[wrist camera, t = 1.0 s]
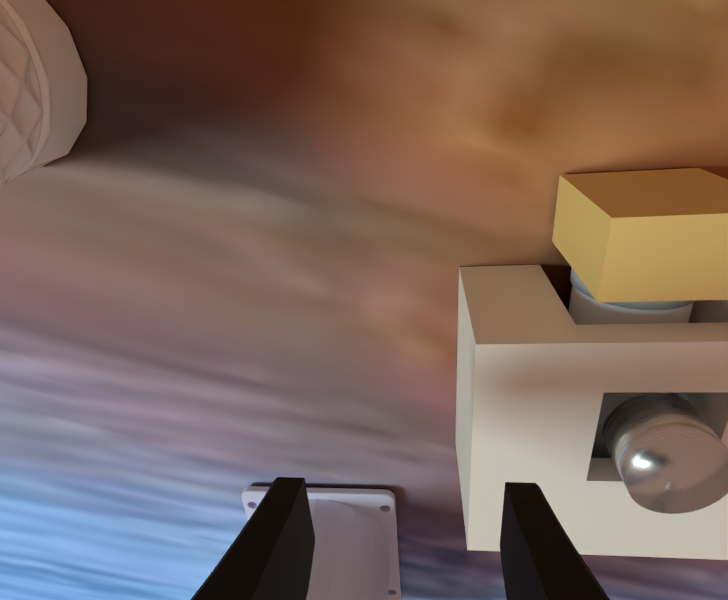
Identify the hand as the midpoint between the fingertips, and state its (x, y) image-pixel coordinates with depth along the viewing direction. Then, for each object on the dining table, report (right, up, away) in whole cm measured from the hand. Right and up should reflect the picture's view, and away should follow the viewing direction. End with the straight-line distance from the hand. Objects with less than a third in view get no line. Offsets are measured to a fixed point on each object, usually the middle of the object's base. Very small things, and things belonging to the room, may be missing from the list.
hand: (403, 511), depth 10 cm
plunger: (+8, +1, +4) cm, 9 cm away
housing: (+9, +2, +9) cm, 13 cm away
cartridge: (+8, +4, +8) cm, 12 cm away
